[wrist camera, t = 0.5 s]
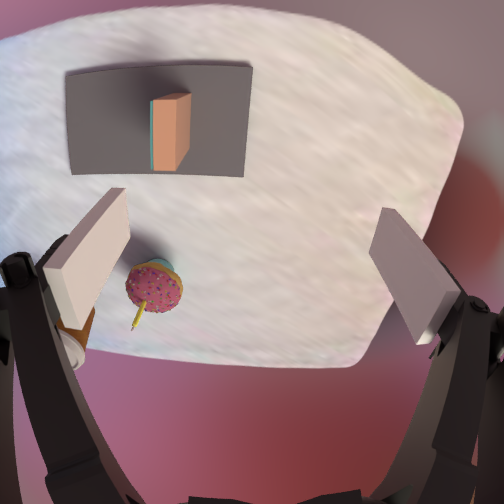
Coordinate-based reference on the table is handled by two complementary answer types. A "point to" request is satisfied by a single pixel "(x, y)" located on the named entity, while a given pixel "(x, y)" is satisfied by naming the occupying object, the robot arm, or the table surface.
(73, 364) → the disposable coffee cup
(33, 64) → the table surface
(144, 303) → the cupcake
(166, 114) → the tile
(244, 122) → the mat
